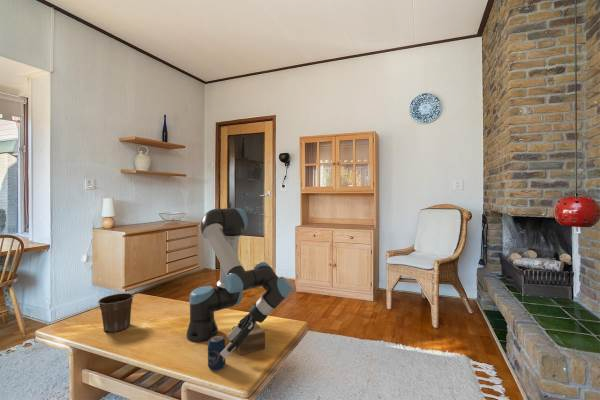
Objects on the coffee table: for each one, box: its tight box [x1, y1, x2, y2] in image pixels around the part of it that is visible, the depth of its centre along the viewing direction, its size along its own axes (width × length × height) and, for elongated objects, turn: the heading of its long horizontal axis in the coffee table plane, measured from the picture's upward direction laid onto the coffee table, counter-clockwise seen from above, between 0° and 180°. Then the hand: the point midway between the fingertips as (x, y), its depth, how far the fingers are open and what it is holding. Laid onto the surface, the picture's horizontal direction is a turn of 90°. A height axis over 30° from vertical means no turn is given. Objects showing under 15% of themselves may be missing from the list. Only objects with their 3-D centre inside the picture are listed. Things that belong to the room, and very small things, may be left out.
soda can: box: [207, 334, 226, 372], centre depth 123 cm, size 7×7×12 cm
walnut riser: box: [231, 322, 266, 356], centre depth 140 cm, size 12×12×8 cm
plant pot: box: [97, 292, 134, 333], centre depth 160 cm, size 16×16×16 cm
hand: (225, 346), depth 123 cm, fingers open, 13 cm apart
